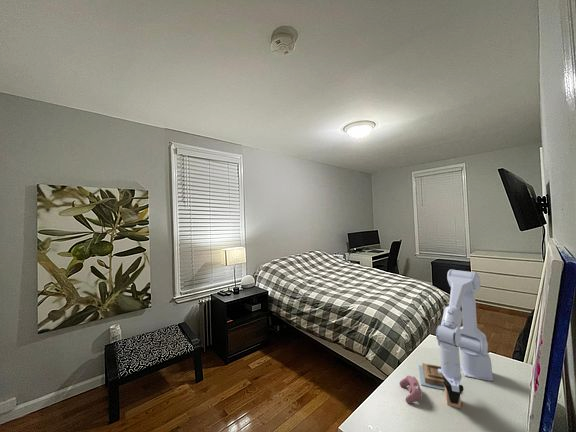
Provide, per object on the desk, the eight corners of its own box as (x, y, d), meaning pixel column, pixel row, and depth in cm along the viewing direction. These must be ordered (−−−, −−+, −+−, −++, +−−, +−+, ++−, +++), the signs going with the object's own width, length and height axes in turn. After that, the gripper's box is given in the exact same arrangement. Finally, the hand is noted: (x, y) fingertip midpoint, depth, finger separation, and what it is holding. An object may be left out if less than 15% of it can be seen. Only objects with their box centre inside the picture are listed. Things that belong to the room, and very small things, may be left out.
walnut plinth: (449, 372, 99) (449, 366, 99) (455, 389, 90) (454, 381, 90) (422, 367, 103) (422, 361, 103) (425, 382, 94) (424, 375, 94)
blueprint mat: (453, 372, 100) (453, 371, 100) (461, 393, 88) (460, 392, 88) (418, 365, 105) (418, 365, 105) (421, 385, 93) (421, 384, 93)
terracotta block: (458, 399, 85) (457, 383, 86) (461, 407, 82) (459, 390, 82) (445, 396, 87) (444, 380, 87) (447, 404, 84) (446, 387, 84)
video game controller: (417, 409, 84) (426, 392, 84) (405, 402, 85) (413, 386, 84) (409, 389, 94) (416, 374, 93) (398, 383, 95) (405, 368, 94)
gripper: (434, 347, 93) (436, 382, 93) (440, 370, 80) (443, 410, 80) (455, 350, 90) (458, 386, 90) (465, 374, 77) (468, 416, 77)
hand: (452, 398), depth 85 cm, fingers closed on terracotta block, 4 cm apart
